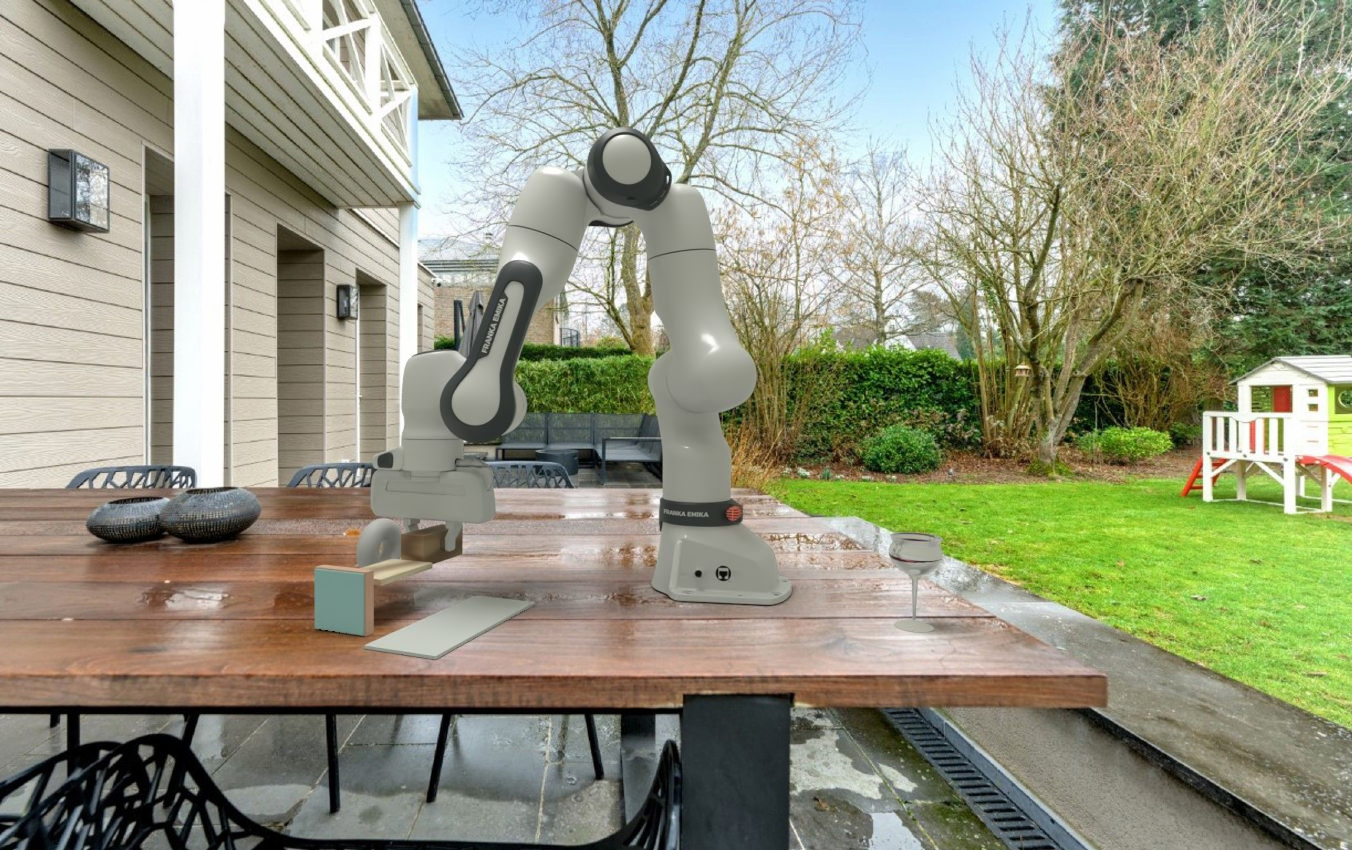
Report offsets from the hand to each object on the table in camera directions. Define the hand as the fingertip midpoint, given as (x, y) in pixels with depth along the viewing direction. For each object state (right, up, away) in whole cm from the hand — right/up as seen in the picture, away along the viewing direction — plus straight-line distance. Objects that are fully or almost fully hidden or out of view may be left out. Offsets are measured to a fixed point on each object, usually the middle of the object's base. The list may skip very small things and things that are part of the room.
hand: (432, 549), depth 99 cm
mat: (+8, -7, -13) cm, 17 cm away
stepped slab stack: (-2, -2, -5) cm, 5 cm away
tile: (-5, -7, -16) cm, 19 cm away
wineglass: (+69, -8, -12) cm, 70 cm away
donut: (-12, -7, +9) cm, 16 cm away
